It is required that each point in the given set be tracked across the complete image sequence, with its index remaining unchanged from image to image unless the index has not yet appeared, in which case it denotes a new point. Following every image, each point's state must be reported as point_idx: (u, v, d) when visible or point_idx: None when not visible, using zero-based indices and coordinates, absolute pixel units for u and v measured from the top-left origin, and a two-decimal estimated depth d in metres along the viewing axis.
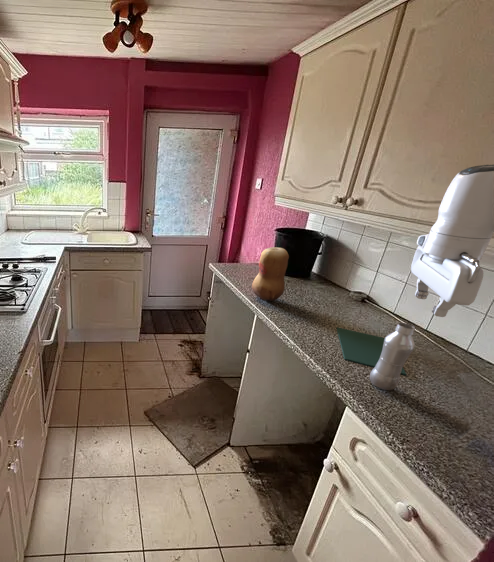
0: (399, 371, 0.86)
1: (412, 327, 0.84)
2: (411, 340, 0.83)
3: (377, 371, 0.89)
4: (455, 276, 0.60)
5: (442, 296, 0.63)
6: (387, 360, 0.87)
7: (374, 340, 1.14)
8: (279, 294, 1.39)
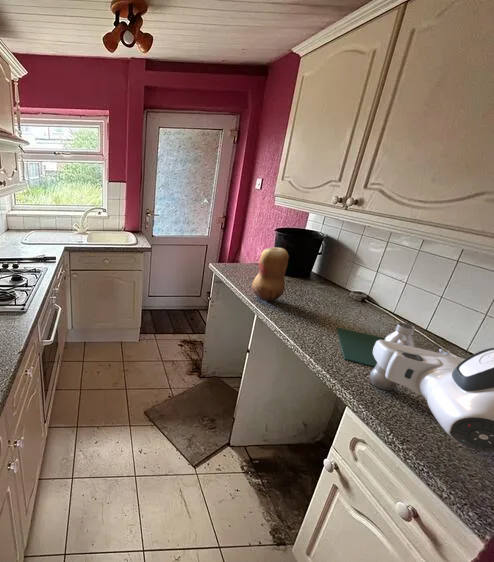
0: None
1: (412, 327, 0.84)
2: (411, 340, 0.83)
3: (377, 371, 0.89)
4: None
5: None
6: None
7: (374, 340, 1.14)
8: (279, 294, 1.39)
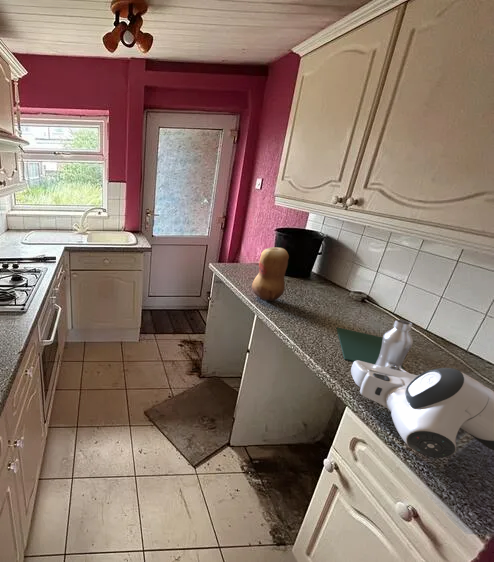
0: None
1: (409, 323, 0.85)
2: (409, 336, 0.84)
3: None
4: None
5: None
6: (386, 357, 0.87)
7: (374, 340, 1.14)
8: (279, 294, 1.39)
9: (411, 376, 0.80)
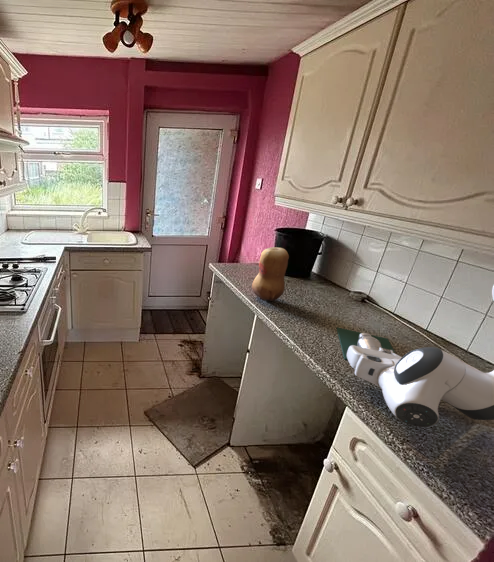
0: None
1: None
2: None
3: None
4: None
5: None
6: (367, 348, 1.00)
7: None
8: (279, 294, 1.39)
9: None
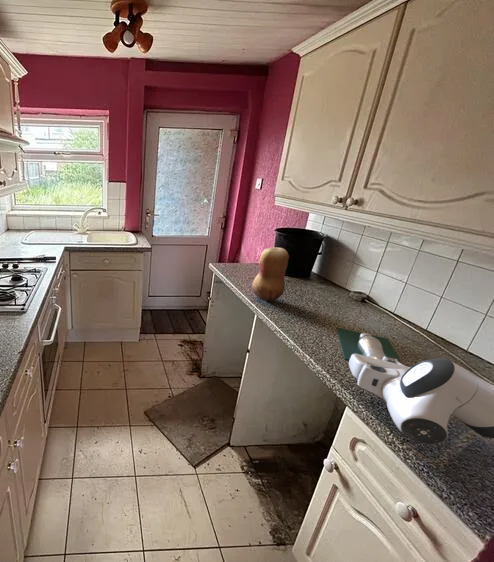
0: (384, 354, 0.96)
1: None
2: None
3: None
4: None
5: None
6: (369, 348, 1.00)
7: None
8: (279, 294, 1.39)
9: (407, 368, 0.83)
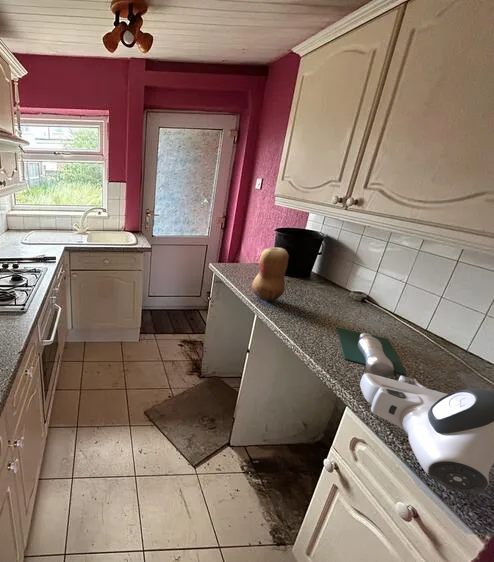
0: (384, 354, 0.96)
1: None
2: None
3: (368, 357, 0.97)
4: None
5: None
6: (369, 348, 1.00)
7: None
8: (279, 294, 1.39)
9: (429, 392, 0.70)
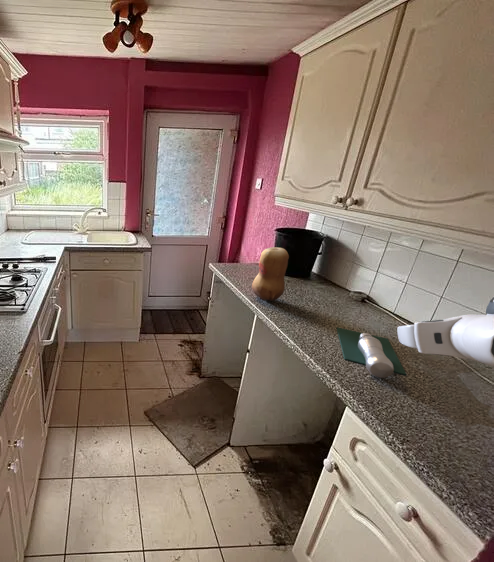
0: (384, 354, 0.96)
1: None
2: None
3: (368, 357, 0.97)
4: None
5: None
6: (369, 348, 1.00)
7: None
8: (279, 294, 1.39)
9: None
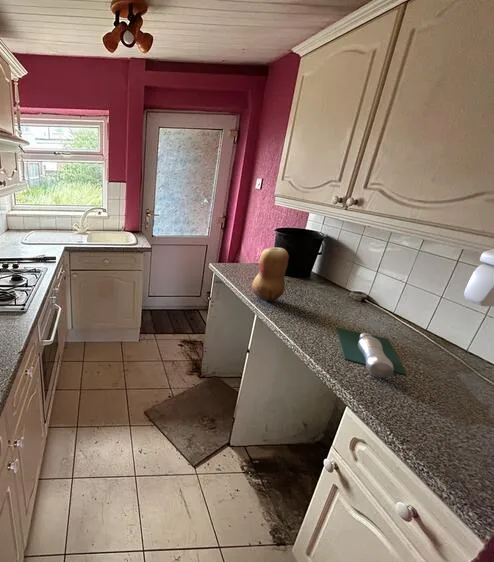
0: (384, 354, 0.96)
1: None
2: None
3: (368, 357, 0.97)
4: None
5: None
6: (369, 348, 1.00)
7: None
8: (279, 294, 1.39)
9: None
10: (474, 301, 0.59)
